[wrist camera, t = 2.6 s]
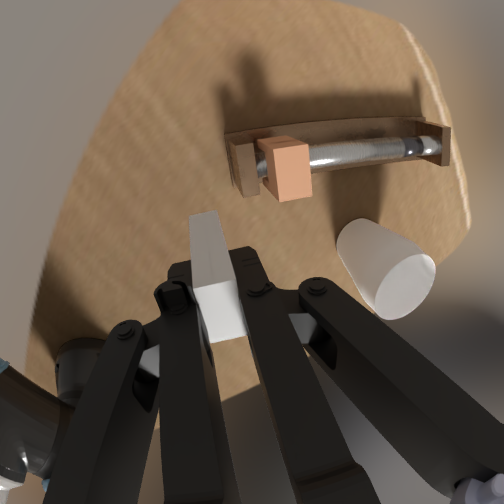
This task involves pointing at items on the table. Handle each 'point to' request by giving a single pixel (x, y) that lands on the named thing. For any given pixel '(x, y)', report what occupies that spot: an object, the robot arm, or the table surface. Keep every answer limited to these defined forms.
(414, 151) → the wooden rod stand
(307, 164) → the tan block
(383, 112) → the table surface
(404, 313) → the cup
